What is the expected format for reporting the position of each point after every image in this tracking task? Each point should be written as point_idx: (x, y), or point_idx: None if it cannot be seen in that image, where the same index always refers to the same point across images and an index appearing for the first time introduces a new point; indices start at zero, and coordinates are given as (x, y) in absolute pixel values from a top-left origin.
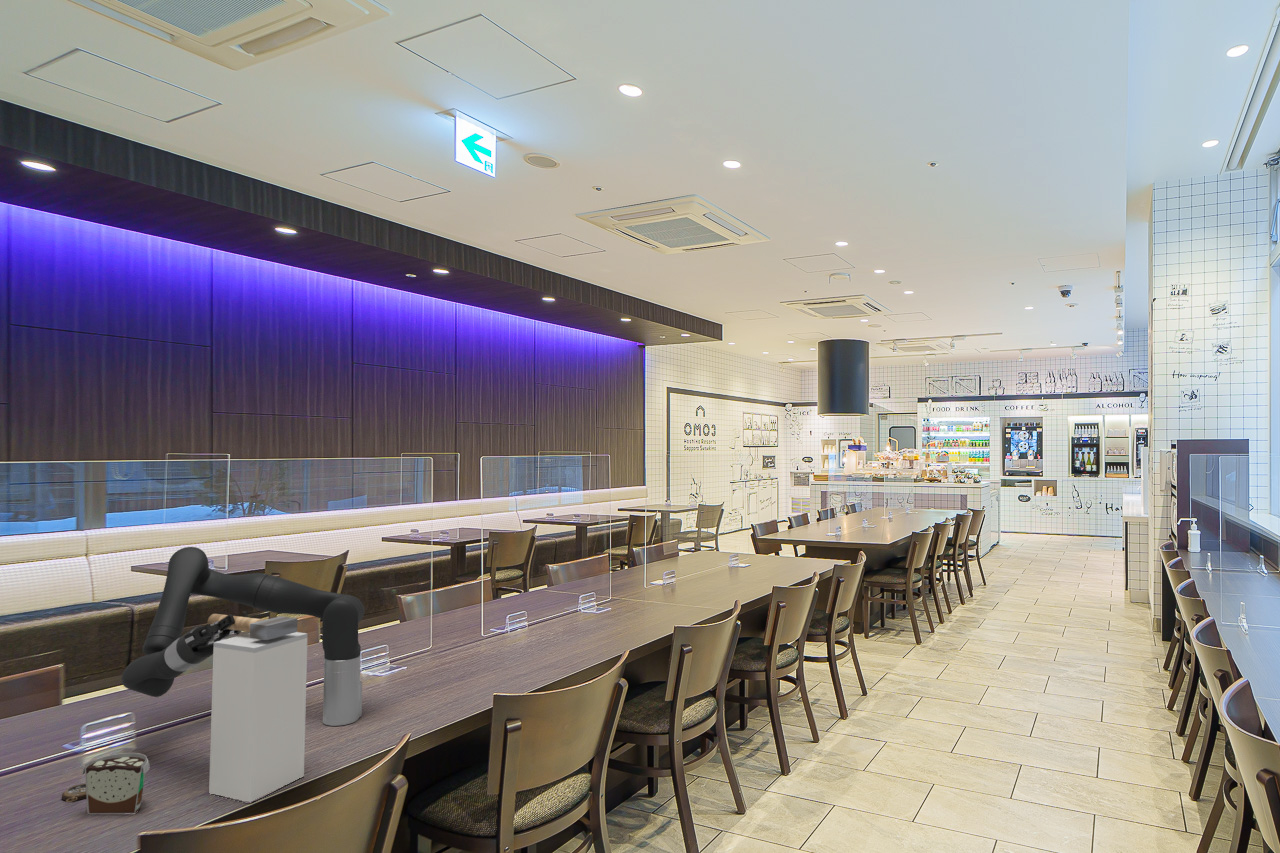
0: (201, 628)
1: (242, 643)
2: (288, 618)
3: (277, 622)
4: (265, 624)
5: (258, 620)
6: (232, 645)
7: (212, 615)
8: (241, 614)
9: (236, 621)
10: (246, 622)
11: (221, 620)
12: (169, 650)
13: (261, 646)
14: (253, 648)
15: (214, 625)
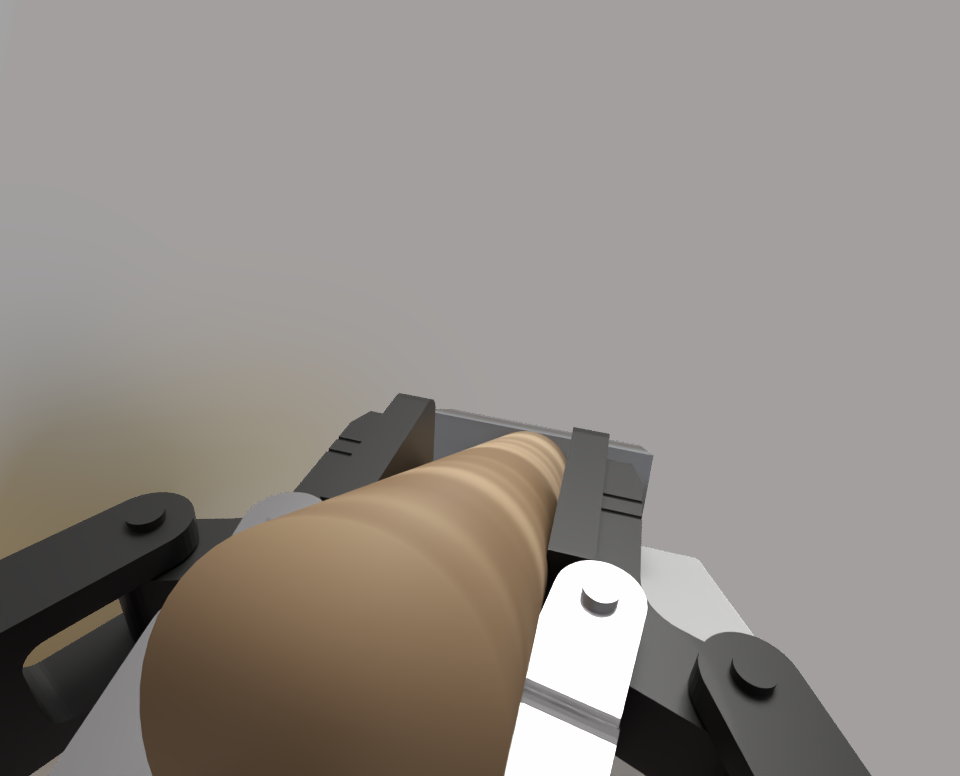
0: (855, 773)
1: (673, 590)
2: (465, 413)
3: (562, 431)
4: (622, 444)
5: (546, 441)
6: (736, 616)
7: (457, 551)
8: (421, 430)
9: (555, 490)
10: (561, 473)
11: (596, 530)
12: None
13: (654, 550)
14: (698, 563)
15: (661, 629)
